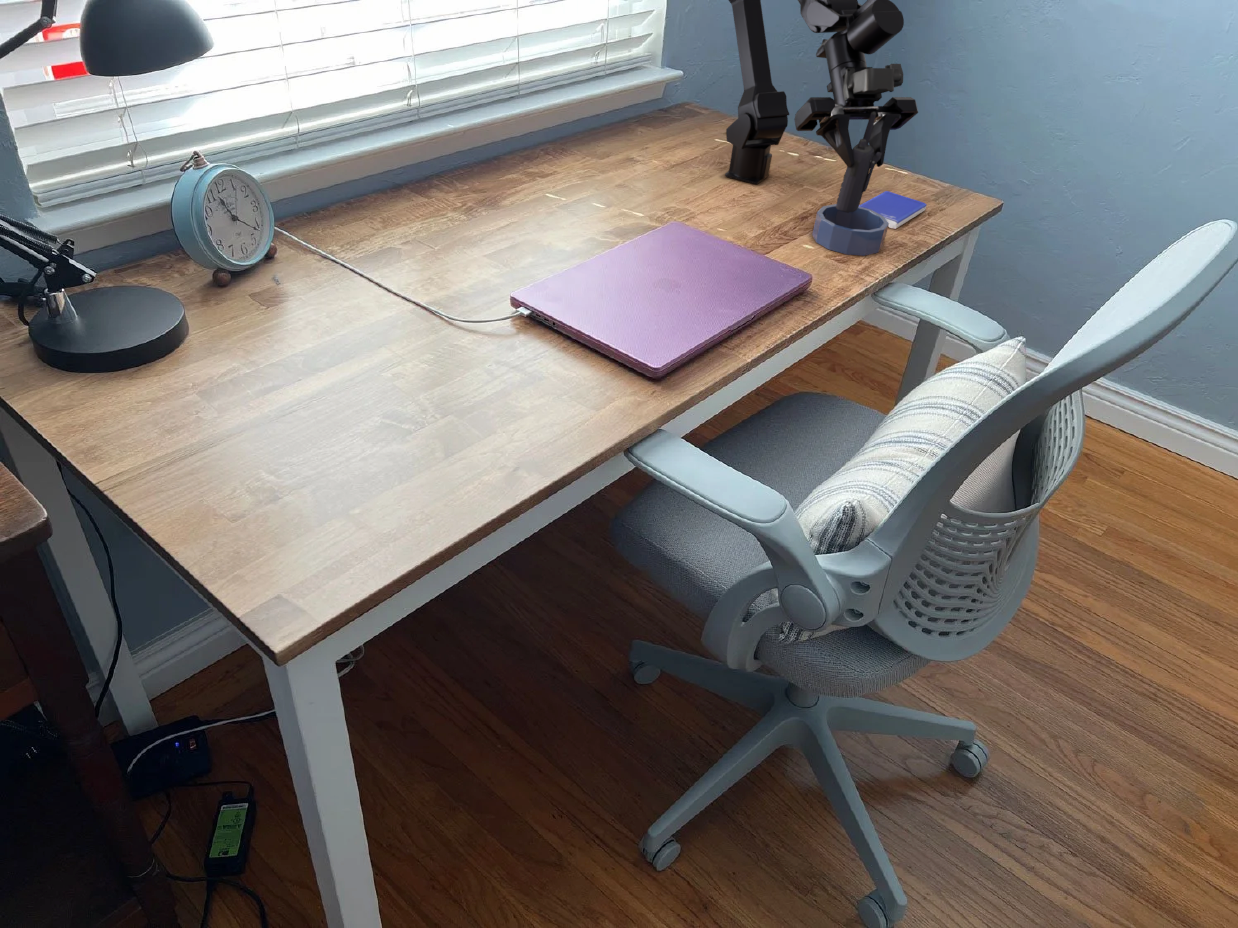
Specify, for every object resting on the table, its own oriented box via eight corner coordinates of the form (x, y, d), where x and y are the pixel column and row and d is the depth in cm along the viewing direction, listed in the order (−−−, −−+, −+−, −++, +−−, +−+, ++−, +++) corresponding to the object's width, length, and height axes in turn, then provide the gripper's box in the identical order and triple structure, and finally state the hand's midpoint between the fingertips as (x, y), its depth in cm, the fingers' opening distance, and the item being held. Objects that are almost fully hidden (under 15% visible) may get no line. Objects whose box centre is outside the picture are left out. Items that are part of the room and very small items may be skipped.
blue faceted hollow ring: (804, 243, 154) (809, 219, 151) (825, 221, 162) (830, 199, 159) (871, 261, 150) (877, 237, 147) (889, 238, 158) (895, 215, 156)
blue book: (898, 221, 161) (927, 203, 169) (854, 206, 164) (885, 189, 172) (895, 229, 161) (924, 211, 170) (852, 215, 165) (883, 198, 173)
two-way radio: (841, 200, 155) (867, 107, 146) (867, 208, 153) (896, 114, 145) (832, 210, 151) (859, 115, 142) (859, 218, 149) (888, 122, 140)
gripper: (819, 40, 137) (838, 143, 136) (929, 42, 143) (948, 141, 141) (785, 81, 148) (802, 176, 146) (889, 81, 154) (906, 173, 152)
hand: (865, 166), depth 146 cm, fingers closed on two-way radio, 5 cm apart
